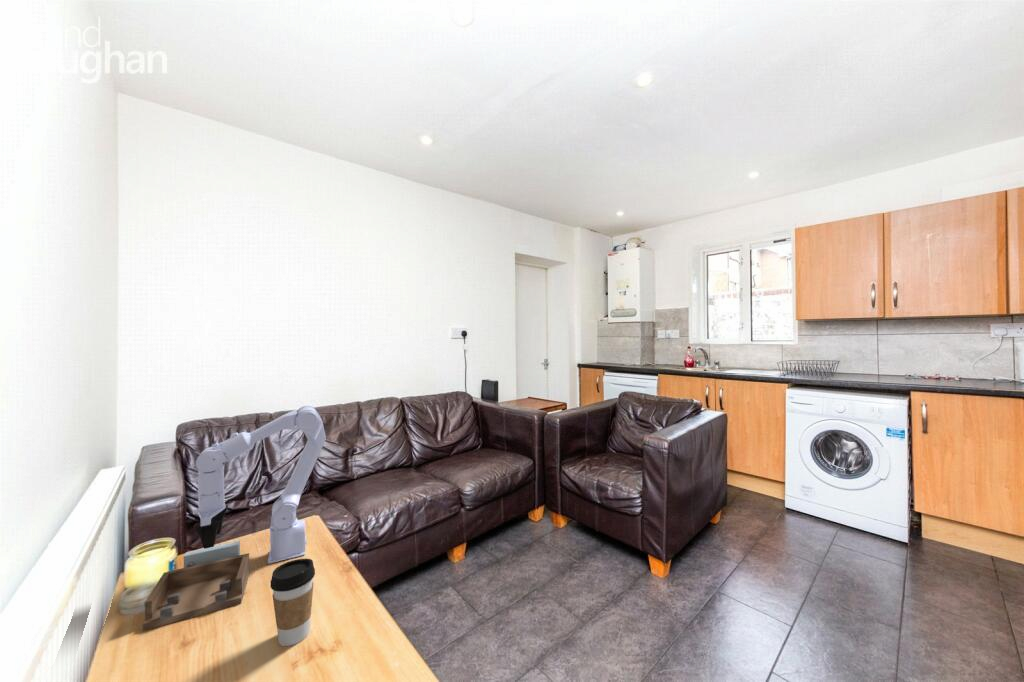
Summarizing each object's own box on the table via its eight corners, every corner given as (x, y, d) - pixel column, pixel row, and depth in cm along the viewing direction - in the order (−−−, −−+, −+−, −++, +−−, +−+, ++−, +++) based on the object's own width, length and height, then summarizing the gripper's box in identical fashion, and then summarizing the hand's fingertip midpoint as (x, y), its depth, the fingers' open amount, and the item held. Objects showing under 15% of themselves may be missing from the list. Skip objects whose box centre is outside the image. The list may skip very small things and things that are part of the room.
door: (240, 564, 109) (239, 540, 109) (238, 570, 106) (237, 545, 106) (186, 577, 104) (186, 552, 104) (183, 584, 101) (182, 558, 101)
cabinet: (249, 572, 105) (249, 553, 105) (241, 603, 93) (240, 581, 93) (164, 594, 97) (164, 572, 97) (142, 631, 84) (142, 606, 84)
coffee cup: (302, 651, 78) (301, 578, 78) (262, 651, 78) (260, 579, 78) (323, 620, 86) (322, 555, 86) (287, 621, 87) (285, 555, 87)
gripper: (200, 485, 110) (201, 532, 110) (185, 504, 97) (186, 557, 97) (230, 481, 113) (230, 526, 113) (219, 499, 100) (220, 550, 100)
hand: (212, 540), depth 105 cm, fingers open, 7 cm apart
